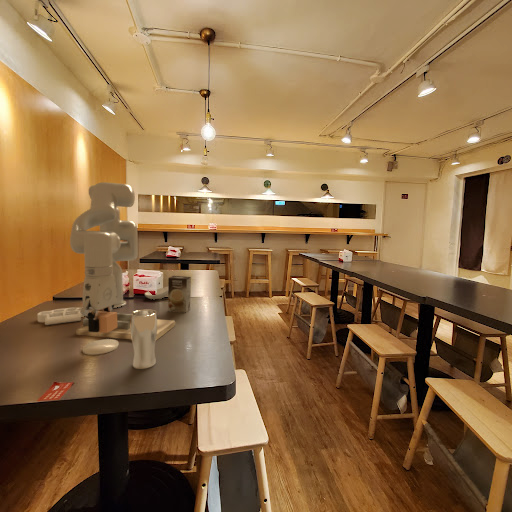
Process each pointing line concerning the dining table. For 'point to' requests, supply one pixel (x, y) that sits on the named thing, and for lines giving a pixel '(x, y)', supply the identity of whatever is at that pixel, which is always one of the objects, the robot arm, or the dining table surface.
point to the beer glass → (143, 337)
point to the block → (107, 321)
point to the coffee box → (179, 293)
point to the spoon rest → (158, 293)
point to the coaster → (100, 347)
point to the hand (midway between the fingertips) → (100, 327)
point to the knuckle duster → (60, 316)
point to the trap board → (124, 328)
